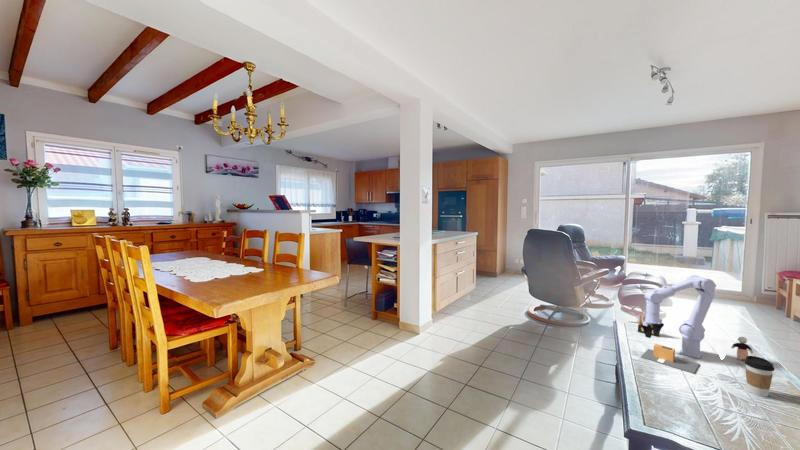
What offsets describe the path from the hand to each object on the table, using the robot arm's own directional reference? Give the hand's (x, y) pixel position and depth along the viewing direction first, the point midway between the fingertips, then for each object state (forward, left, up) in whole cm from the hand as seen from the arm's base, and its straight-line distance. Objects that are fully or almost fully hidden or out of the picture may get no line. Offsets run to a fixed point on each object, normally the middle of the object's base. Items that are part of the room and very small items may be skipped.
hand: (652, 336), depth 168 cm
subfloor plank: (+5, +8, -9) cm, 14 cm away
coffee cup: (+11, +39, -10) cm, 42 cm away
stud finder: (+5, +6, -9) cm, 12 cm away
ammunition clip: (-29, -8, -10) cm, 32 cm away
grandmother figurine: (-26, +32, -10) cm, 42 cm away
